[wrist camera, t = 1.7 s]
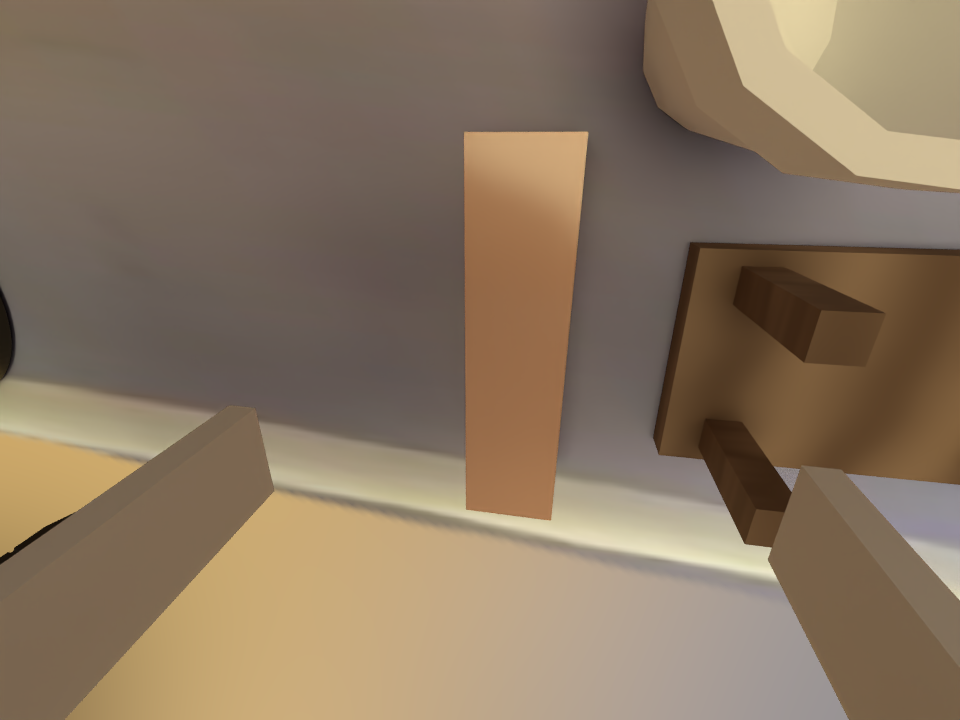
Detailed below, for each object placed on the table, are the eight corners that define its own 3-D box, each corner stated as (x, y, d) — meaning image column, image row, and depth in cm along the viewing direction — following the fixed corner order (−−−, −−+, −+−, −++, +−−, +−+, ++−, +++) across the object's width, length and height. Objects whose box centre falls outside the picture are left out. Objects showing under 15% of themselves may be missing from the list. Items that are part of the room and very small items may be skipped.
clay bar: (552, 456, 25) (550, 520, 20) (483, 448, 25) (466, 509, 21) (582, 140, 18) (588, 131, 14) (487, 140, 19) (464, 131, 14)
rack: (653, 438, 23) (690, 550, 16) (690, 242, 19) (761, 284, 12) (1011, 471, 21) (1231, 621, 14) (1142, 254, 17) (1543, 316, 10)
